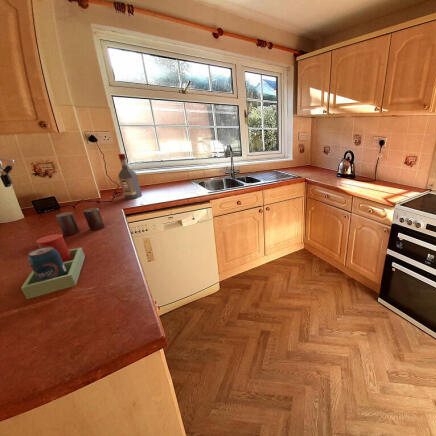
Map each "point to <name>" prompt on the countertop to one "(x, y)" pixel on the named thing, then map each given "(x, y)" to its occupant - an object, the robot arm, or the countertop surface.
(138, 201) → the countertop surface
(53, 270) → the soda can
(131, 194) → the liquor
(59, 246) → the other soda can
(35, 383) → the countertop surface
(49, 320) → the countertop surface
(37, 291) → the can rack
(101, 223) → the grey tin right
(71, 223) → the grey tin left
